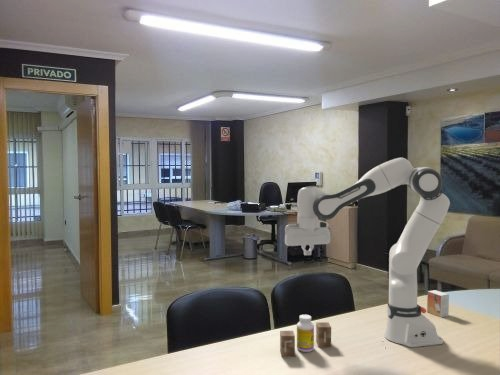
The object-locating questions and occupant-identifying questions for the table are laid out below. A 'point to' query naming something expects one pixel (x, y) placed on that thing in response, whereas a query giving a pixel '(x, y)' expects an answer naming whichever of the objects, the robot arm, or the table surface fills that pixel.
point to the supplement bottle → (305, 334)
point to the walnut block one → (323, 334)
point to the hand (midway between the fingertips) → (307, 254)
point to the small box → (438, 303)
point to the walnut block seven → (287, 344)
